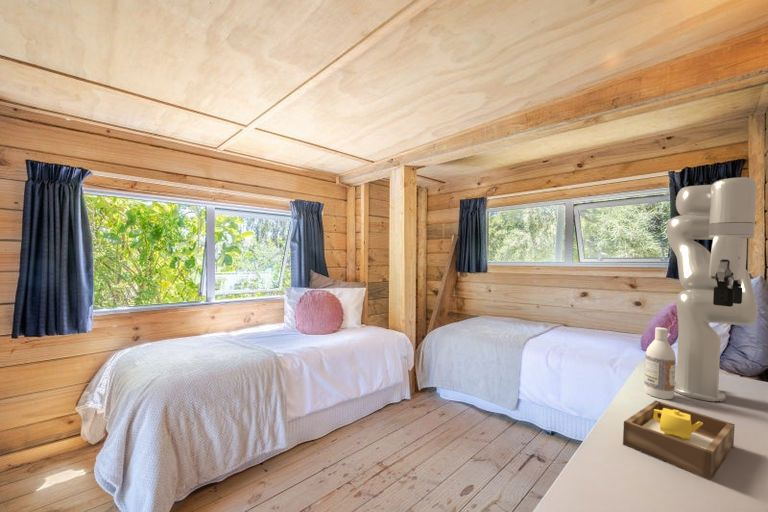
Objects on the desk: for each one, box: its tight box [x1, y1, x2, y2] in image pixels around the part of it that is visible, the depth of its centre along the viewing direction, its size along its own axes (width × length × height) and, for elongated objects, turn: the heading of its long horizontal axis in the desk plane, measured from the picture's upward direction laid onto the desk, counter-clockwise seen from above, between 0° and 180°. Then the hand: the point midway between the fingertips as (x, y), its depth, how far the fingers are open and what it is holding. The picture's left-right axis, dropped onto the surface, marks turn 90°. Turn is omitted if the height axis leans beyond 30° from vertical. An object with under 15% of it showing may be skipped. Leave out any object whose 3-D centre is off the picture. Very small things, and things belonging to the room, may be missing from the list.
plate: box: [643, 419, 714, 449], centre depth 74 cm, size 9×11×2 cm
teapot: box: [653, 408, 703, 440], centre depth 74 cm, size 8×6×5 cm
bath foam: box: [643, 326, 677, 400], centre depth 103 cm, size 7×7×20 cm
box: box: [622, 400, 735, 481], centre depth 75 cm, size 20×14×5 cm
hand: (727, 304), depth 81 cm, fingers open, 9 cm apart
